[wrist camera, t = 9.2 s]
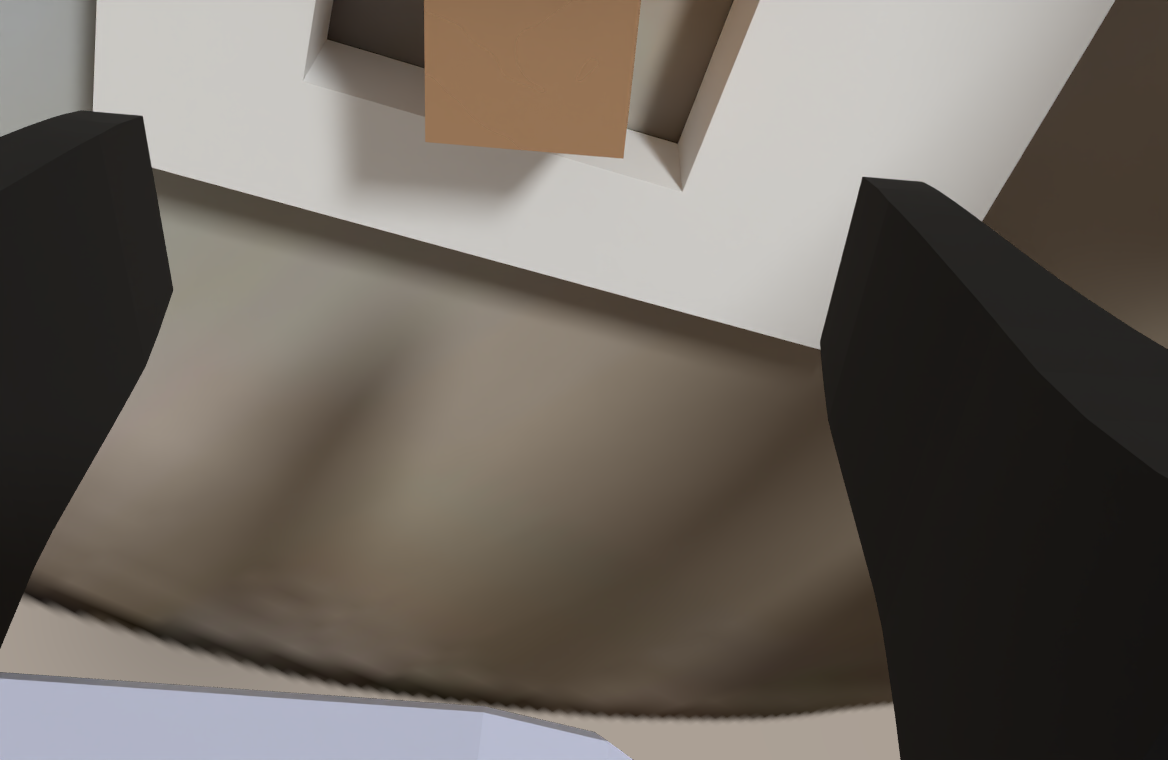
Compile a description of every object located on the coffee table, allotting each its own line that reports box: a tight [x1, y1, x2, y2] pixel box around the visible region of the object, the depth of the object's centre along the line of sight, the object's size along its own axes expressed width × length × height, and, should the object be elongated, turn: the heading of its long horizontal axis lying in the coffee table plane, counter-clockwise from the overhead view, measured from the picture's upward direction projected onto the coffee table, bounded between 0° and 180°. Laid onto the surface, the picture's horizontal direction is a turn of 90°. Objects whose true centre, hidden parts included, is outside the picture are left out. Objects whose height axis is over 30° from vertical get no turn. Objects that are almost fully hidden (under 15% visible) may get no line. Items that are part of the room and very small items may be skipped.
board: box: [93, 0, 1115, 350], centre depth 20 cm, size 16×8×2 cm, turn 73°
